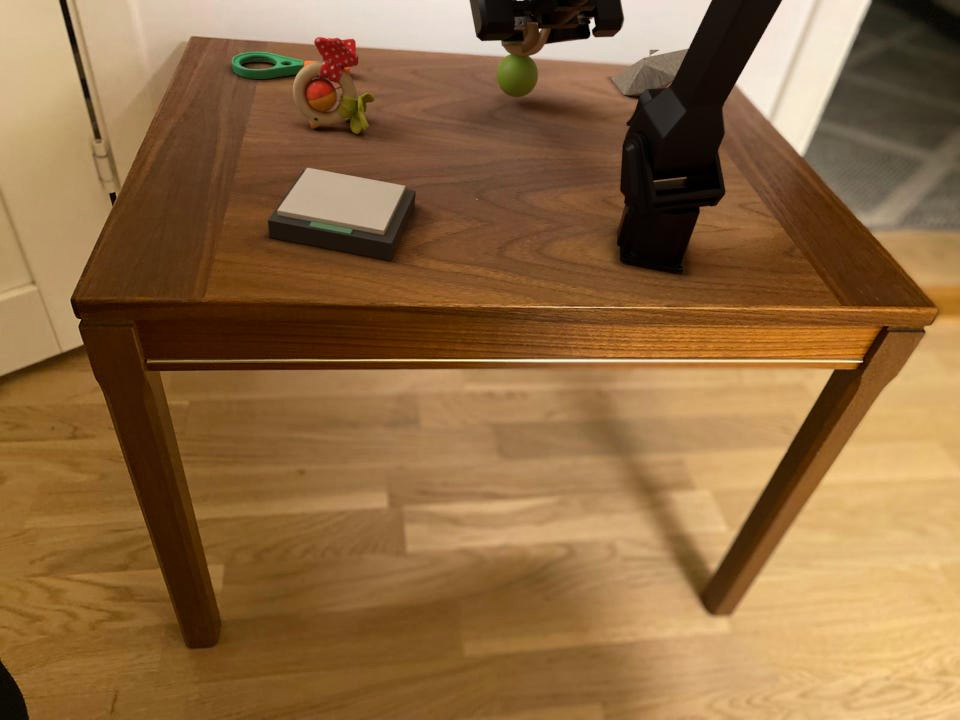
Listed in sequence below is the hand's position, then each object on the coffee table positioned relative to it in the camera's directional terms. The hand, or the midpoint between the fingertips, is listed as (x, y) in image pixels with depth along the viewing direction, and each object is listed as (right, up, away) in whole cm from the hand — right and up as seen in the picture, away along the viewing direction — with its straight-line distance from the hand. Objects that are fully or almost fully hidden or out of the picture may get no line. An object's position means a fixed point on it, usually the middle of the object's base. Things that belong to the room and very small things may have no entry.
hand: (520, 41), depth 95 cm
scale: (-19, -27, -21) cm, 39 cm away
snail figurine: (0, -6, +4) cm, 7 cm away
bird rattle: (-23, -13, -6) cm, 27 cm away
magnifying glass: (-30, -3, +4) cm, 31 cm away
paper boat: (+19, -2, +13) cm, 23 cm away
